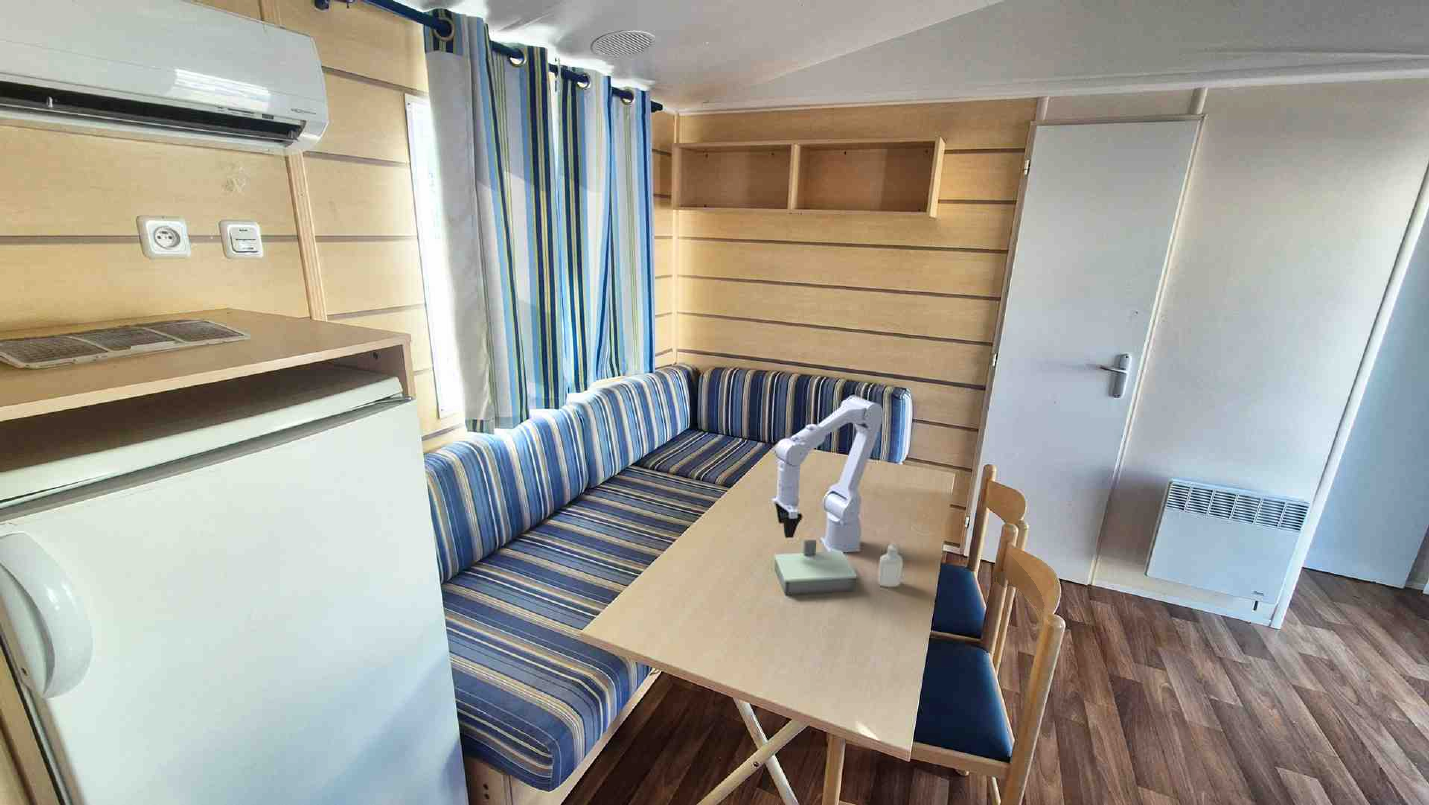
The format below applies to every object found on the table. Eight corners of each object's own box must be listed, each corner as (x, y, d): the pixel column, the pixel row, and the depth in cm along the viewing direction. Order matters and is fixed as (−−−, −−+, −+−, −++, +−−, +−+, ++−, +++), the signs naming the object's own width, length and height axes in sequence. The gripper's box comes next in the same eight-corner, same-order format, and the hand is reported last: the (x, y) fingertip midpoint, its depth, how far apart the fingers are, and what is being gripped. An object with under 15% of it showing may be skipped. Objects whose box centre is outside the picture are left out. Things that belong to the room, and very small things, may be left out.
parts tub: (839, 566, 156) (840, 553, 155) (854, 590, 146) (855, 577, 145) (775, 570, 154) (775, 557, 153) (785, 595, 144) (785, 581, 142)
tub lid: (841, 554, 156) (842, 537, 154) (856, 579, 145) (858, 561, 143) (774, 558, 153) (775, 541, 152) (784, 584, 142) (785, 565, 141)
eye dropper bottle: (898, 591, 146) (903, 549, 143) (875, 585, 148) (880, 544, 145) (901, 582, 150) (906, 541, 146) (879, 576, 152) (883, 536, 149)
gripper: (767, 473, 157) (765, 517, 161) (779, 496, 144) (777, 544, 148) (792, 472, 158) (790, 516, 162) (806, 495, 144) (803, 543, 148)
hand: (785, 529), depth 155 cm, fingers open, 7 cm apart
